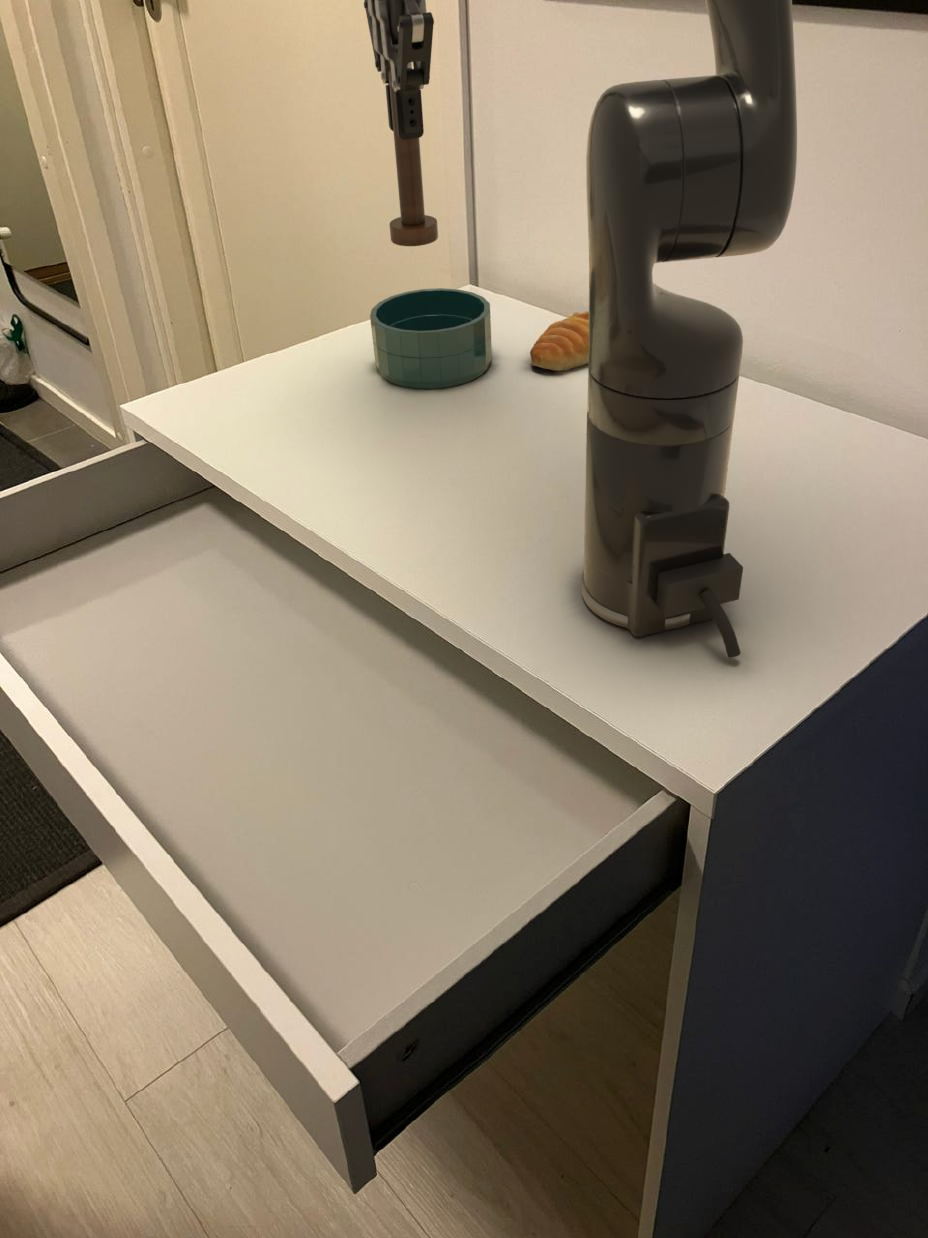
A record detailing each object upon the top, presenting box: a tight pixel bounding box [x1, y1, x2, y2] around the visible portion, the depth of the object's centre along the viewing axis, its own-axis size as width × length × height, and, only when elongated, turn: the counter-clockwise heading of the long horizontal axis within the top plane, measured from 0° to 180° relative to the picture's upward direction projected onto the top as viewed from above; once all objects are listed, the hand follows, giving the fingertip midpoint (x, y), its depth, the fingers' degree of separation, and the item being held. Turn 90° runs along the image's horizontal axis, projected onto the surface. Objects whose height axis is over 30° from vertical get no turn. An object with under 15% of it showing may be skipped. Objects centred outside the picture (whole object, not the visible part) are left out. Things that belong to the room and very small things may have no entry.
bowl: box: [369, 287, 493, 390], centre depth 105 cm, size 12×12×6 cm
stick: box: [388, 68, 439, 247], centre depth 90 cm, size 4×4×14 cm
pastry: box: [529, 310, 589, 373], centre depth 106 cm, size 9×7×4 cm
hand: (406, 133), depth 89 cm, fingers closed on stick, 2 cm apart
